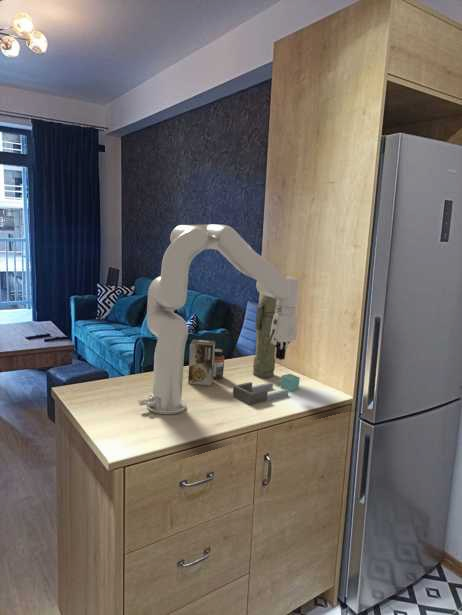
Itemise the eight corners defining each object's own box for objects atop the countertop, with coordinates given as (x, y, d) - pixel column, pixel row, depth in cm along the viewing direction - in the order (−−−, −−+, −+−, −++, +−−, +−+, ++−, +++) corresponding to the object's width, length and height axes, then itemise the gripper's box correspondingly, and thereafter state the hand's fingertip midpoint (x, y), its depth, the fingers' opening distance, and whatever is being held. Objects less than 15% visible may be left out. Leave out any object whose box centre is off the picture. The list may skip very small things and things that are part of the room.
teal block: (289, 392, 172) (290, 379, 172) (280, 387, 176) (281, 375, 175) (298, 389, 176) (299, 377, 175) (289, 385, 179) (290, 373, 179)
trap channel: (249, 405, 156) (250, 394, 156) (232, 396, 163) (233, 385, 163) (287, 395, 169) (289, 385, 168) (270, 387, 176) (271, 377, 175)
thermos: (280, 375, 191) (288, 293, 184) (261, 380, 183) (269, 295, 176) (265, 369, 197) (273, 290, 191) (245, 373, 189) (253, 291, 183)
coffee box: (213, 380, 178) (216, 341, 175) (210, 386, 172) (213, 345, 169) (190, 378, 179) (193, 338, 176) (187, 383, 172) (189, 342, 169)
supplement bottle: (206, 374, 184) (208, 347, 182) (220, 374, 186) (222, 347, 184) (210, 379, 179) (212, 352, 177) (224, 379, 181) (226, 352, 178)
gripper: (278, 313, 158) (272, 363, 161) (306, 311, 168) (300, 359, 171) (264, 309, 164) (258, 358, 167) (291, 307, 174) (286, 353, 177)
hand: (279, 358), depth 169 cm, fingers closed
